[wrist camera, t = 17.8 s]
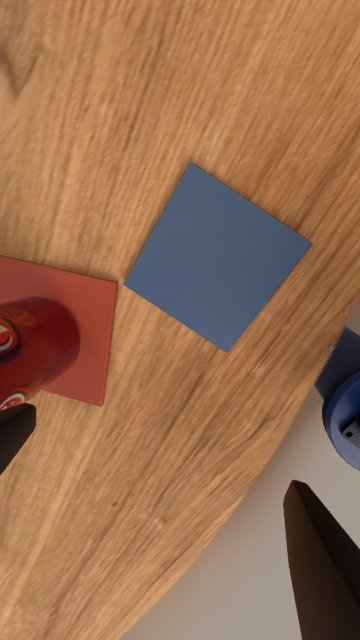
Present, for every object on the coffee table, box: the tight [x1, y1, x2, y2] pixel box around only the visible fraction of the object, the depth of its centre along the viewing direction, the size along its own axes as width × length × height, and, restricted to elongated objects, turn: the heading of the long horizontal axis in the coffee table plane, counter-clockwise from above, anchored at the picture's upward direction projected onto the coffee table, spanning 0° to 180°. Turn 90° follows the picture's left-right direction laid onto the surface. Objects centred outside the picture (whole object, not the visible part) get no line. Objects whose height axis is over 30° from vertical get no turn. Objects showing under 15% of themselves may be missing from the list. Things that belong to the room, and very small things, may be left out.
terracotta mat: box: [0, 255, 118, 407], centre depth 23 cm, size 12×12×1 cm
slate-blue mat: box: [124, 162, 312, 352], centre depth 19 cm, size 10×10×1 cm
